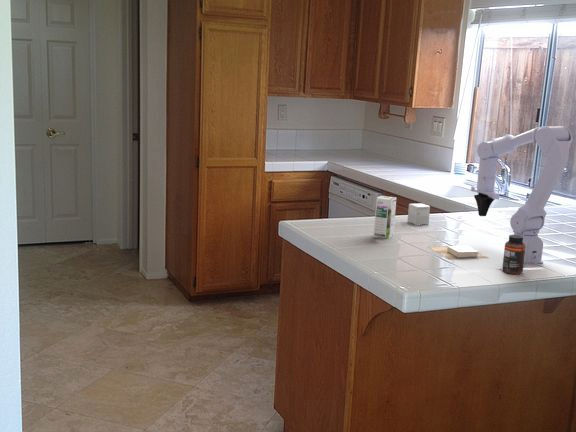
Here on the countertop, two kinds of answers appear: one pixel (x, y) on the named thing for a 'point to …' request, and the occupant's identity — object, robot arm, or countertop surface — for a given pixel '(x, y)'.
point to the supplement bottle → (514, 255)
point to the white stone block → (418, 214)
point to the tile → (462, 251)
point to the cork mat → (443, 252)
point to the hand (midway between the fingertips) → (482, 215)
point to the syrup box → (384, 217)
